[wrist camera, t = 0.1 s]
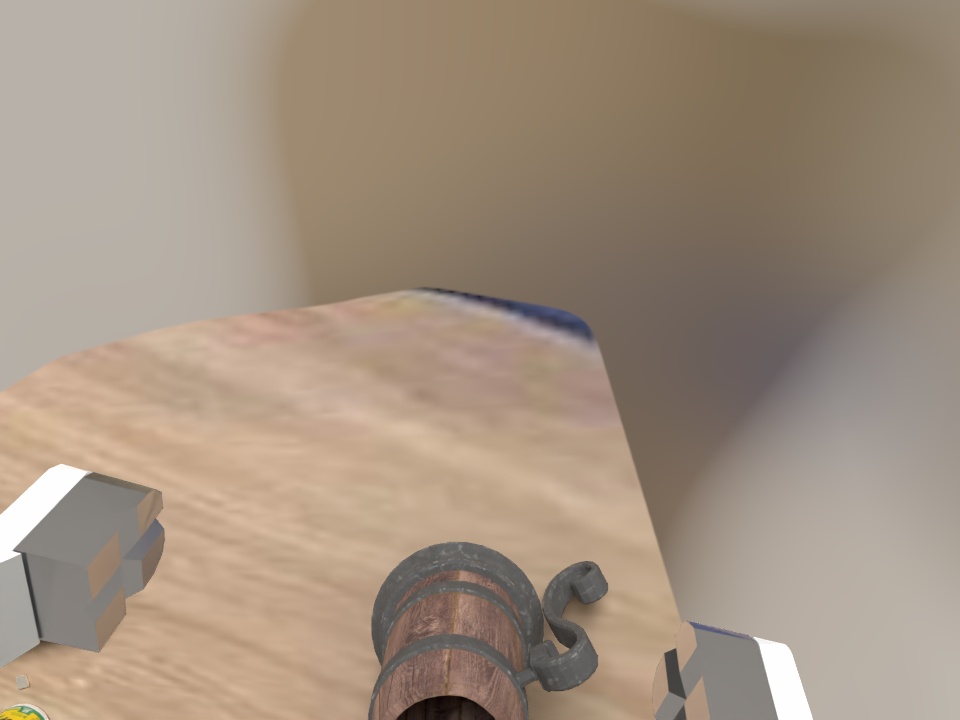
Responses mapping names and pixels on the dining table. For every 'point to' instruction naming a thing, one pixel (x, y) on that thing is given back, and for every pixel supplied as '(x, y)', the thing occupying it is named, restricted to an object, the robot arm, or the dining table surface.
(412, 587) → the tankard
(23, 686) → the piston track
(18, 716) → the supplement bottle
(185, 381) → the dining table surface
